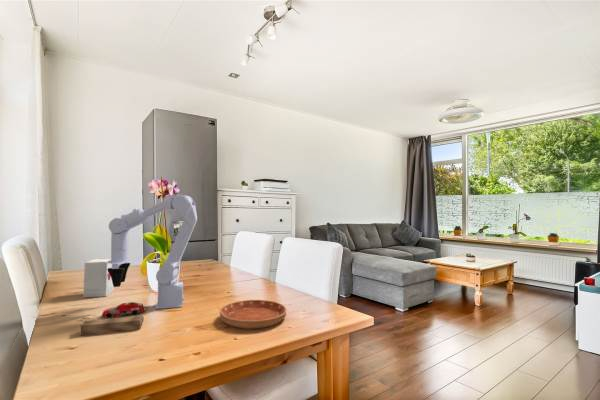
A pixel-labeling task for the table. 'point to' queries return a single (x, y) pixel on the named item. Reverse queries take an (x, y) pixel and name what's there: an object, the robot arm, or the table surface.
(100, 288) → the supplement box
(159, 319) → the table surface
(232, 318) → the saucer
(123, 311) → the race car
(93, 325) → the chock stand
